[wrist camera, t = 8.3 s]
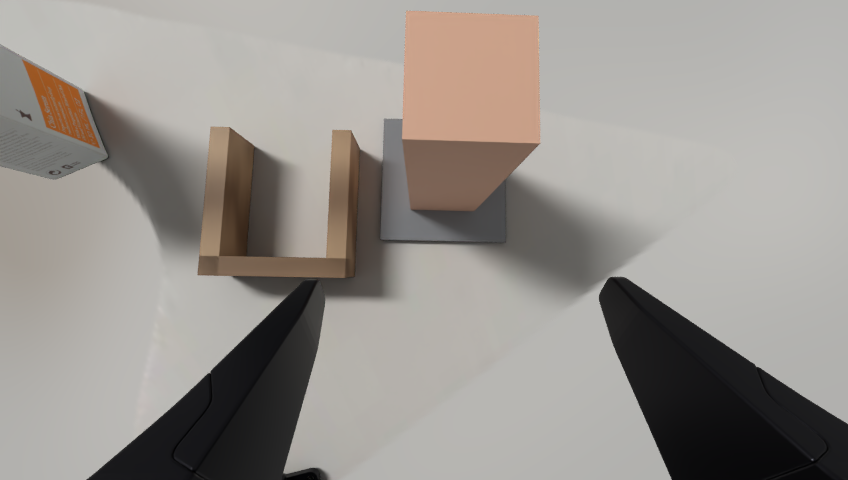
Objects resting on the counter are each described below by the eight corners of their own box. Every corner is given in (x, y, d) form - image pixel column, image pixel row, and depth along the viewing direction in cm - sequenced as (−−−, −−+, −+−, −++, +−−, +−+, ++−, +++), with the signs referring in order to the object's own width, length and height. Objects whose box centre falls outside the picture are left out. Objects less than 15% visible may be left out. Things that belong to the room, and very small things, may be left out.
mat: (504, 242, 22) (505, 241, 22) (381, 240, 22) (380, 239, 22) (503, 124, 23) (504, 121, 23) (384, 121, 23) (384, 118, 23)
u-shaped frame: (354, 276, 22) (344, 277, 19) (227, 274, 22) (197, 275, 19) (359, 148, 23) (351, 130, 20) (238, 145, 23) (210, 126, 20)
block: (474, 211, 22) (540, 143, 10) (410, 209, 22) (401, 139, 10) (474, 149, 23) (538, 15, 11) (412, 148, 22) (406, 10, 11)
